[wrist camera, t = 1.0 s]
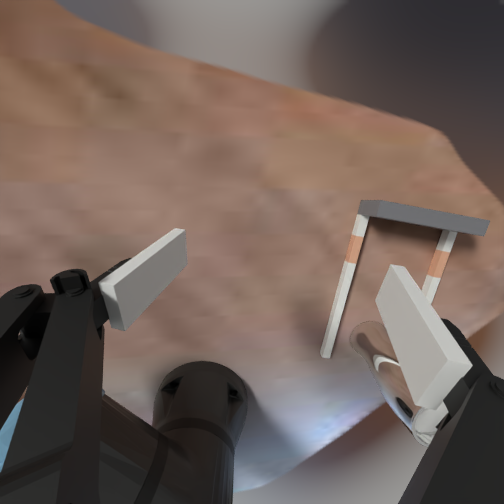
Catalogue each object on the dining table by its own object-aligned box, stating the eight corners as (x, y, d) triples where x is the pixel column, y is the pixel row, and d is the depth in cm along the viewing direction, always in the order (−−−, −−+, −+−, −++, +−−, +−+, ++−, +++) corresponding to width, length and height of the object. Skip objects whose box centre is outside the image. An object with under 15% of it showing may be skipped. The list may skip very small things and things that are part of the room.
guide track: (402, 364, 39) (424, 387, 34) (319, 352, 38) (330, 374, 33) (455, 217, 34) (490, 220, 29) (361, 200, 33) (380, 200, 28)
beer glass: (357, 312, 37) (430, 386, 22) (396, 325, 38) (492, 404, 23) (340, 349, 38) (398, 442, 24) (378, 360, 39) (457, 457, 24)
